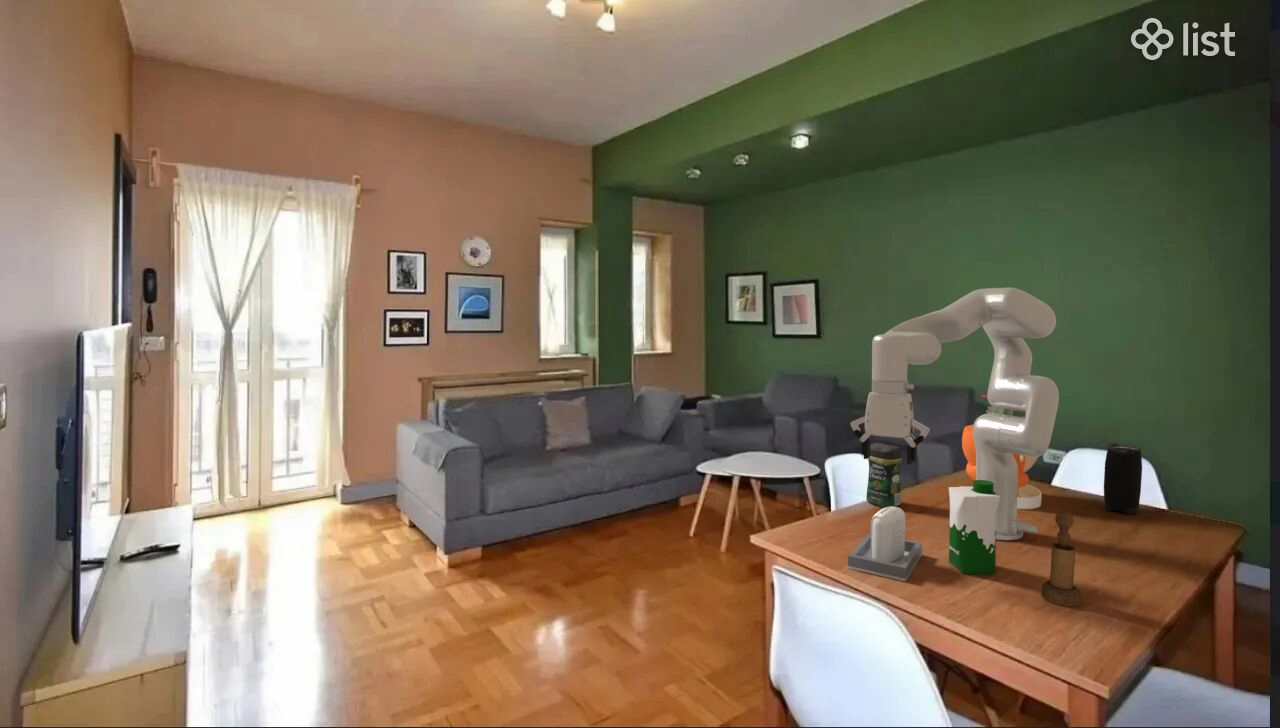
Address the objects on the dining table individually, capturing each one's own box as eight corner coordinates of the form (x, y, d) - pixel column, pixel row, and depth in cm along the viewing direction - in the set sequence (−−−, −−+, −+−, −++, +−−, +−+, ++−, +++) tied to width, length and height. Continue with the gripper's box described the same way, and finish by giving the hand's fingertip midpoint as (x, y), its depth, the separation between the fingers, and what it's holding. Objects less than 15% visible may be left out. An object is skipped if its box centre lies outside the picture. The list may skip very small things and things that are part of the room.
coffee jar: (861, 502, 187) (862, 443, 185) (878, 497, 191) (879, 439, 189) (888, 510, 179) (889, 448, 177) (905, 505, 183) (906, 445, 181)
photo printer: (890, 550, 147) (890, 501, 146) (907, 556, 144) (908, 505, 143) (867, 562, 141) (868, 510, 140) (884, 568, 138) (885, 515, 137)
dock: (921, 554, 146) (922, 542, 146) (905, 581, 132) (905, 568, 132) (868, 544, 153) (869, 532, 153) (847, 568, 139) (848, 555, 139)
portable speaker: (1139, 509, 176) (1143, 444, 174) (1139, 517, 169) (1143, 450, 167) (1103, 503, 181) (1106, 441, 180) (1101, 511, 174) (1105, 446, 173)
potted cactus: (1024, 489, 197) (1027, 382, 194) (1054, 511, 175) (1058, 391, 172) (952, 486, 202) (954, 382, 199) (972, 507, 180) (975, 391, 177)
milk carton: (1002, 575, 134) (1005, 487, 132) (960, 576, 134) (963, 488, 133) (981, 559, 143) (983, 476, 141) (942, 560, 143) (944, 477, 141)
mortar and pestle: (1082, 610, 118) (1086, 520, 117) (1042, 602, 122) (1045, 515, 120) (1079, 596, 124) (1082, 510, 122) (1041, 589, 127) (1044, 505, 126)
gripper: (933, 388, 137) (931, 461, 139) (855, 384, 147) (855, 452, 149) (926, 391, 131) (925, 469, 133) (846, 387, 141) (845, 459, 143)
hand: (888, 460), depth 141 cm, fingers open, 9 cm apart
